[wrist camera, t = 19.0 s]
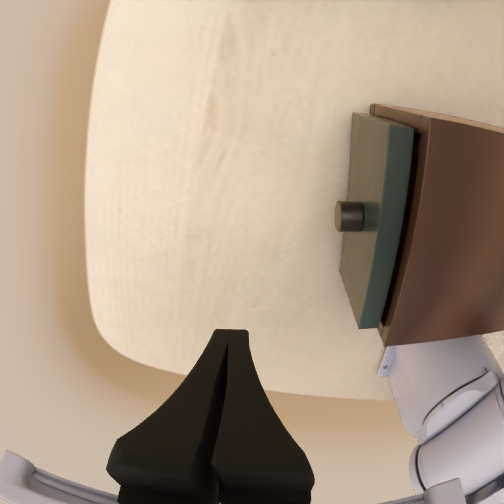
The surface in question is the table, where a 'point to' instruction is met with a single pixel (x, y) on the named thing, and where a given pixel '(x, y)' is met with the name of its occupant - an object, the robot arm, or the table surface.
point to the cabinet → (450, 233)
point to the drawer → (376, 212)
